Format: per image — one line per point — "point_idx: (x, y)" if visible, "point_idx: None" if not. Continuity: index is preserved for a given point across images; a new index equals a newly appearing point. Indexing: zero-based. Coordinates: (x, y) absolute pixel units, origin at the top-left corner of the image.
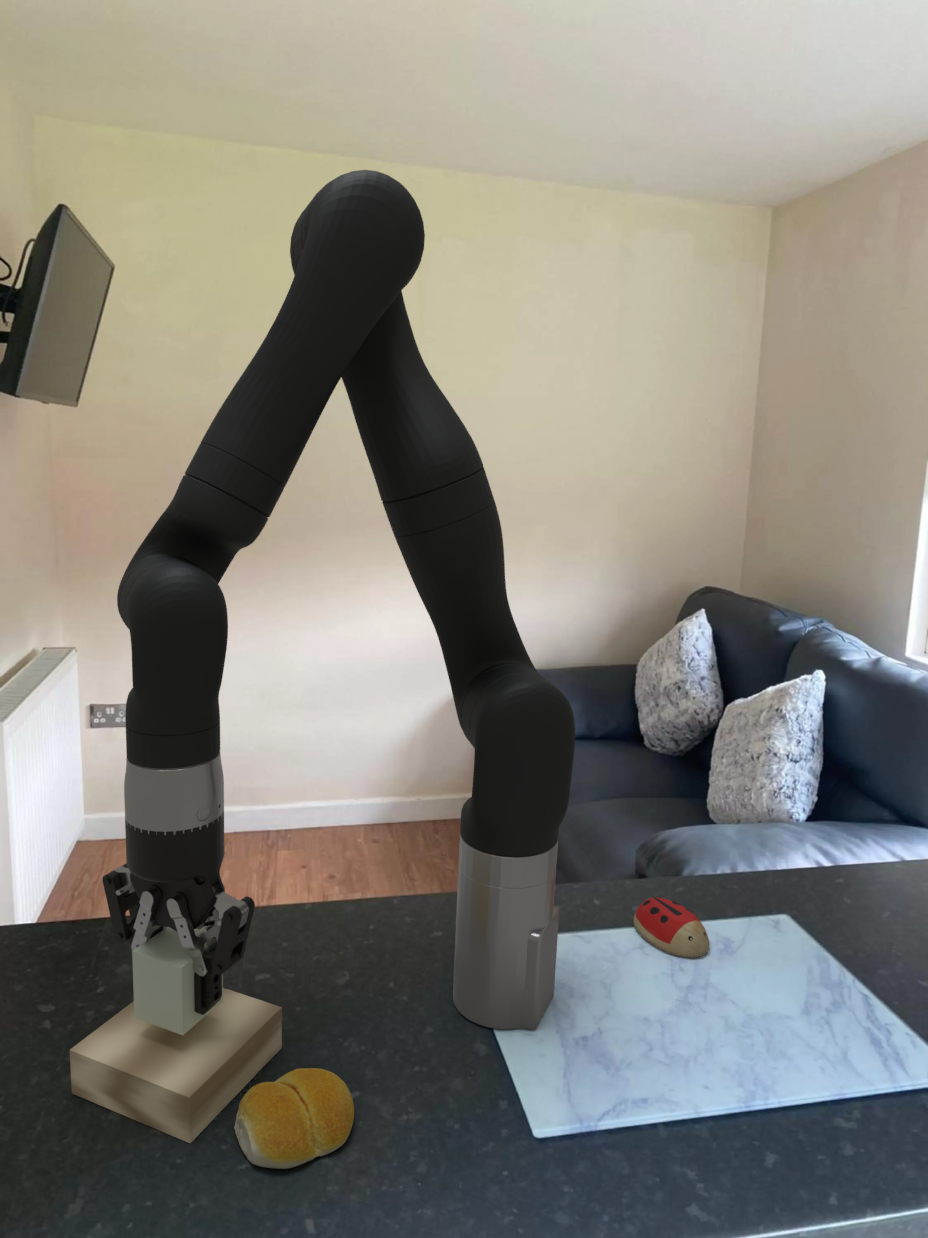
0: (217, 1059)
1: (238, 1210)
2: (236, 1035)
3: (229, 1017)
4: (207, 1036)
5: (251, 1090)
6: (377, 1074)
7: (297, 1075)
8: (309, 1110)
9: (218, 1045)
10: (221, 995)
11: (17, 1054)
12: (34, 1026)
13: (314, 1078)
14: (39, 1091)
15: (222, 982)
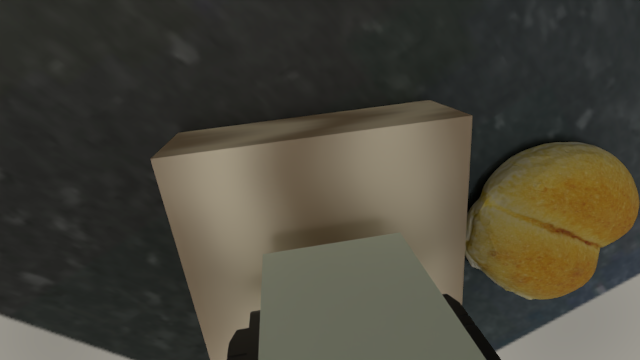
0: (447, 284)
1: (527, 318)
2: (439, 229)
3: (393, 201)
4: None
5: (506, 266)
6: (606, 60)
7: (559, 209)
8: (601, 245)
9: (427, 263)
10: (459, 304)
11: (84, 335)
12: (27, 293)
13: (600, 211)
14: (189, 350)
15: (417, 260)
